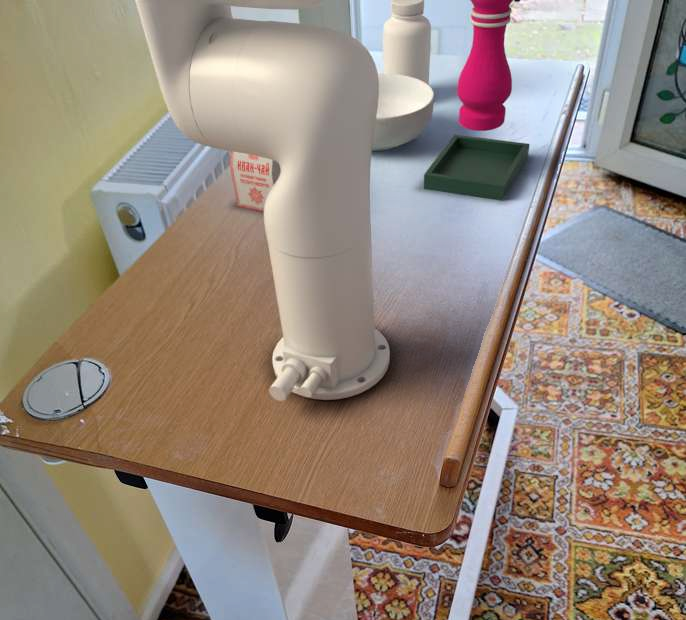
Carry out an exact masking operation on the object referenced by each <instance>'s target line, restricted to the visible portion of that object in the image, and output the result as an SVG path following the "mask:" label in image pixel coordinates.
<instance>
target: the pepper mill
mask: <svg viewBox="0 0 686 620" xmlns="http://www.w3.org/2000/svg"><path fill="white" fill-rule="evenodd" d="M470 2H471V4H472V5H473V7H472V8H471V9H470V15H471V16H470V18H469V22H470V24H471V25H472V28H473V29H472V31H473V35H472V45H471V48H470V52H469V55H468V57H467V59H466V62H465V64H464V66H463V67H462V70H461V72H460V75H459V78H458V80H457V87H456V95H457V97H458V99H459V100H460V102H461V103H462V105H461V106H460V107H459V111H458V123H459V125H460V126H461V127H462V128H464V129H466V130H470V131H475V132H487V131H493V130H495V129H498V128H500V127H502V126H503V125H504V124H505V121H506V120H505V118H506V111H507V109H506V107H505V105H504V104H505V102H506V101H508V99H509V98H510V96H511V94H512V91H513V78H512V71H511V69H510V65H509V62H508V59H507V54H506V48H505V37H506V36H505V35H506V30H507V25H508V24H510V22H511V21H512V18H511V14H512V12H513V10H512V7H510V5H511V3H512V2H514V0H470Z"/></svg>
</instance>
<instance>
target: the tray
mask: <svg viewBox="0 0 686 620" xmlns="http://www.w3.org/2000/svg"><path fill="white" fill-rule="evenodd" d="M530 146H531V145H530V143H527V142H517V141H510V140H502V139H495V138H487V137H486V138H485V137H479V136H470V135H461V134H454V135H453V136H452V138H451V139H450V140H449V141H448V142H447V144H446V145H445V146H444V148H443V149H442V150H441V152H440V153H439V154H438V155H437V157H436V158H435V159H434V161H433V162H432V164H430V166H429V167H428V169H427V170H426V171H425V172H424V175H423V189H426V190H432V191H439V192H445V193H452V194H457V195H465V196H471V197H477V198H484V199H491V200H498V201H504V199H505V197H506V195H507V194H508V192H509V191H510V189H511V187H512V185H513V183H514V182H515V181H516V178H517V177H518V175H519V173H520V172H521V170H522V168H523V166H524V165H525V163H526V161H527V159H528V158H529V152H530Z"/></svg>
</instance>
